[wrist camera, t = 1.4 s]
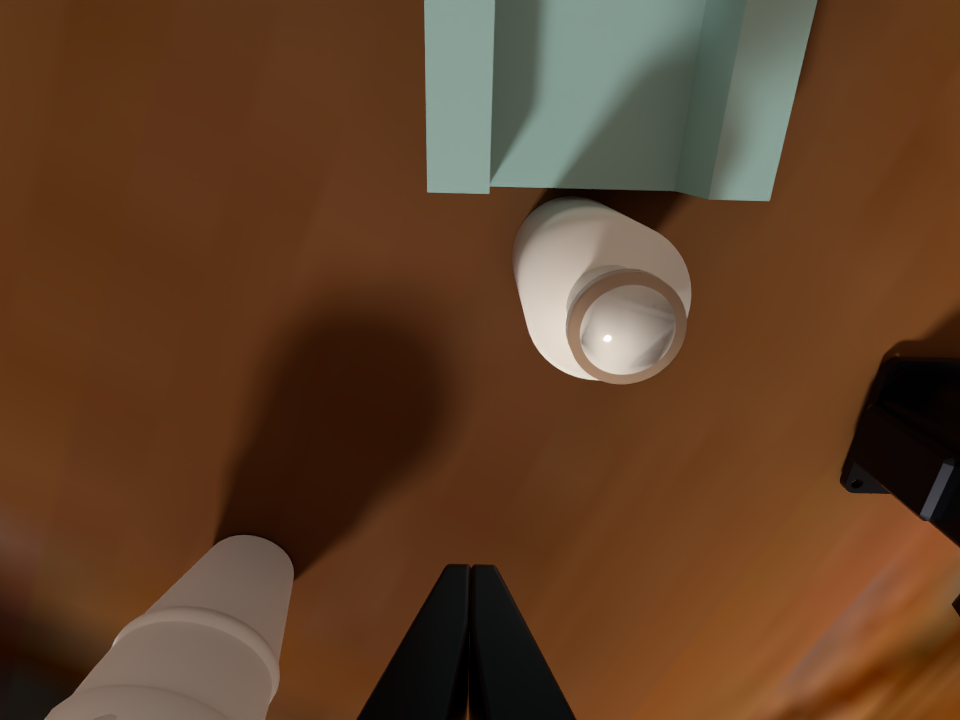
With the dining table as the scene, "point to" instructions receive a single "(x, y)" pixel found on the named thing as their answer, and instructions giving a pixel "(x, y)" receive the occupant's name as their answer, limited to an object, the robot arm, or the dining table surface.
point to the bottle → (600, 291)
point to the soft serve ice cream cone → (198, 644)
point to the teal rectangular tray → (611, 94)
